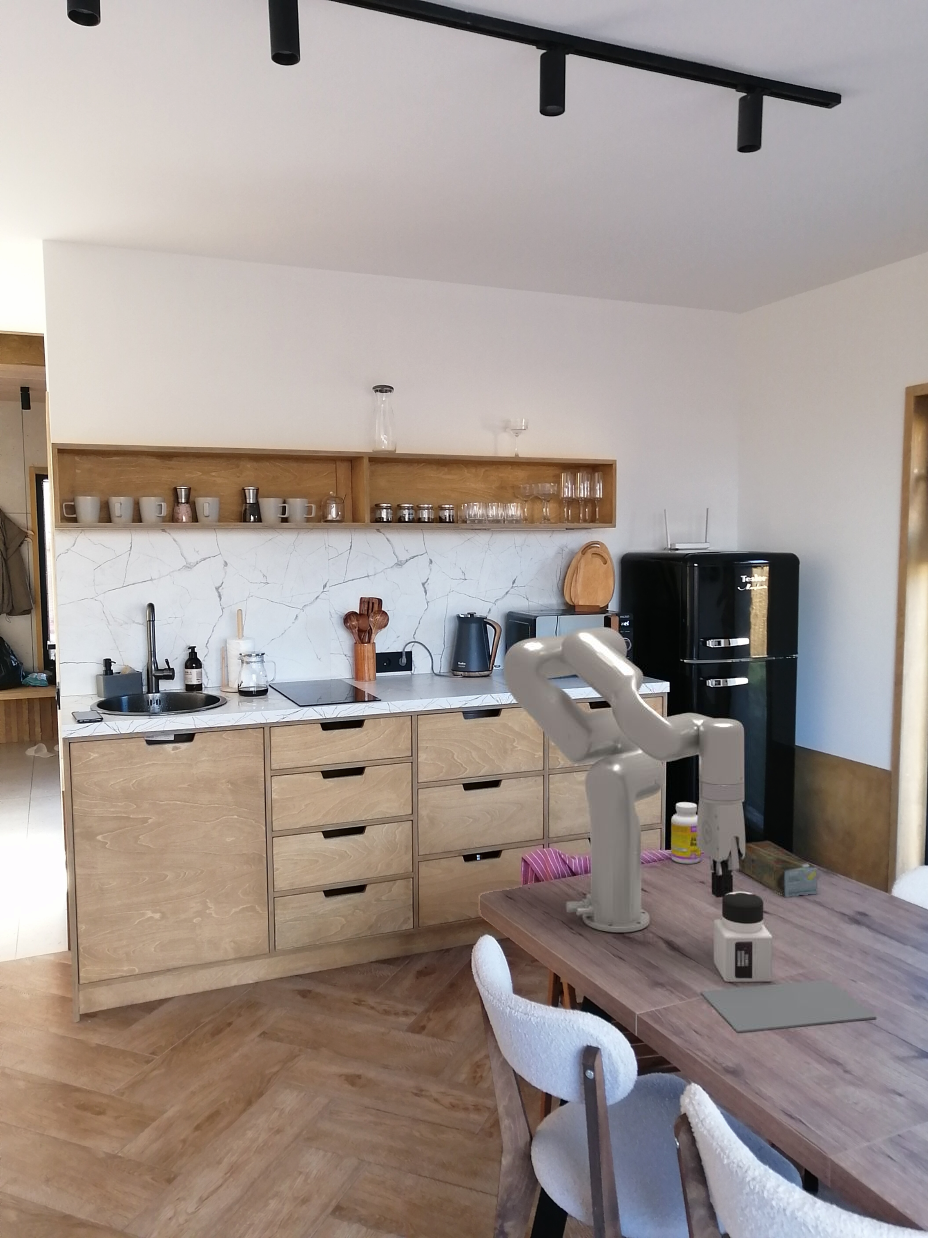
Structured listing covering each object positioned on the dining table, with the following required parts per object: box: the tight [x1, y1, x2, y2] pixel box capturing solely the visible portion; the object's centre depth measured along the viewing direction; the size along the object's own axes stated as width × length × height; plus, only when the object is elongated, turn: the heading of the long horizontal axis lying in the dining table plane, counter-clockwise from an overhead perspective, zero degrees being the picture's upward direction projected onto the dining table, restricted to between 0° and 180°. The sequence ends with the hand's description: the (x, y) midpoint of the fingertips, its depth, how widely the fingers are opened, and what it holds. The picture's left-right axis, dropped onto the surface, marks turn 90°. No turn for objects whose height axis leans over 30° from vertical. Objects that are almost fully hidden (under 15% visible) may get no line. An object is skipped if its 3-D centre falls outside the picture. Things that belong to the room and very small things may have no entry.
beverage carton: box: [739, 840, 818, 898], centre depth 204 cm, size 8×19×7 cm, turn 13°
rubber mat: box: [700, 979, 877, 1034], centre depth 147 cm, size 22×13×1 cm, turn 100°
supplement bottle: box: [670, 801, 702, 865], centre depth 219 cm, size 7×7×13 cm
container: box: [713, 891, 773, 983], centre depth 159 cm, size 8×8×13 cm
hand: (722, 895), depth 167 cm, fingers closed
